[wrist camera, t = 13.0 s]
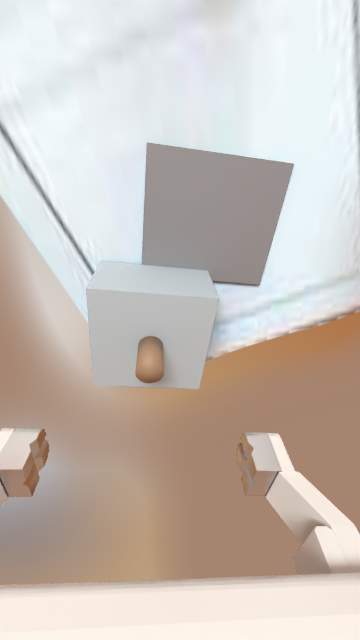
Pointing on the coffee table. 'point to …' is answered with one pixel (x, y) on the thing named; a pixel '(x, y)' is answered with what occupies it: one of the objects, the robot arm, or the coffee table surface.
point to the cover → (149, 325)
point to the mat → (211, 211)
